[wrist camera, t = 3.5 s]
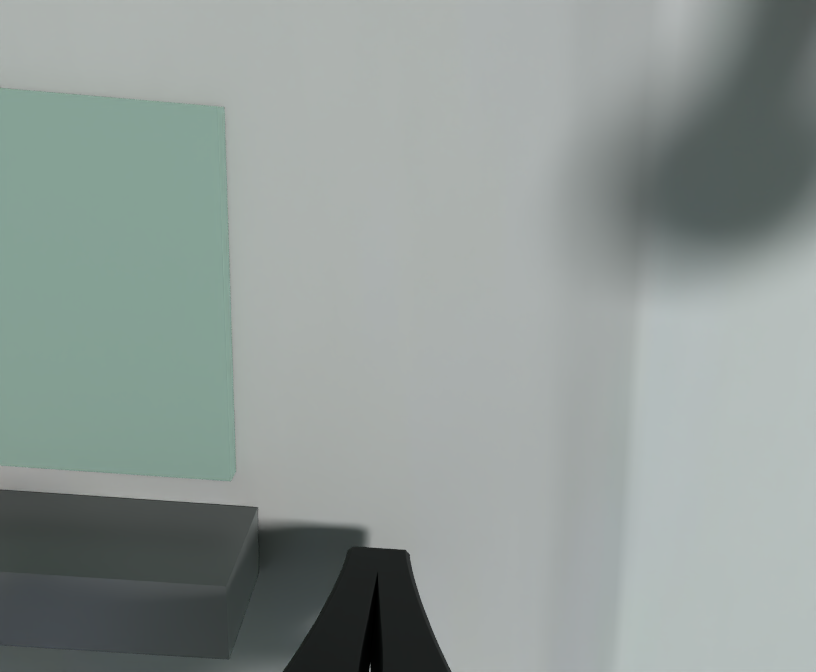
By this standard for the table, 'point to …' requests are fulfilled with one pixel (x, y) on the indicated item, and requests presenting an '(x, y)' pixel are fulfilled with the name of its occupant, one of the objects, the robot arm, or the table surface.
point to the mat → (114, 287)
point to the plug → (125, 574)
